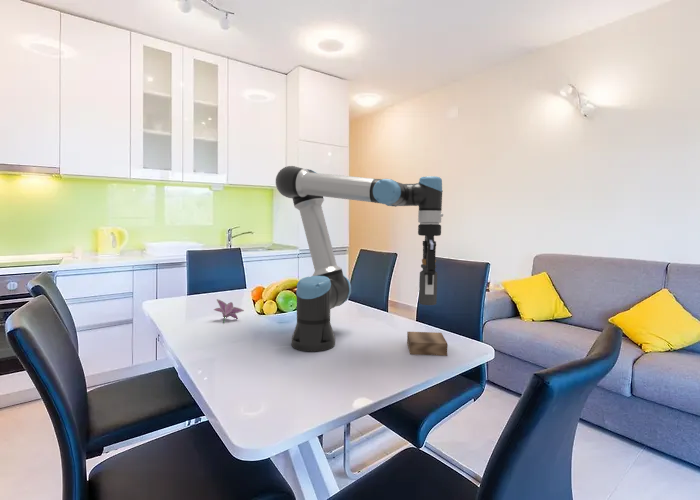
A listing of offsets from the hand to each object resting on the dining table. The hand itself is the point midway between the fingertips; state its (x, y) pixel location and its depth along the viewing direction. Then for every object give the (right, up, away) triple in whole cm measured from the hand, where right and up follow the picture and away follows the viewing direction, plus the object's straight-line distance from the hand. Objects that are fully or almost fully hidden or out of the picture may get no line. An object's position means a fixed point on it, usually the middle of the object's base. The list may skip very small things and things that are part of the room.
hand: (427, 292), depth 126 cm
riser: (0, -20, +2) cm, 20 cm away
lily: (-79, -16, +33) cm, 87 cm away
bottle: (0, -4, 0) cm, 4 cm away
